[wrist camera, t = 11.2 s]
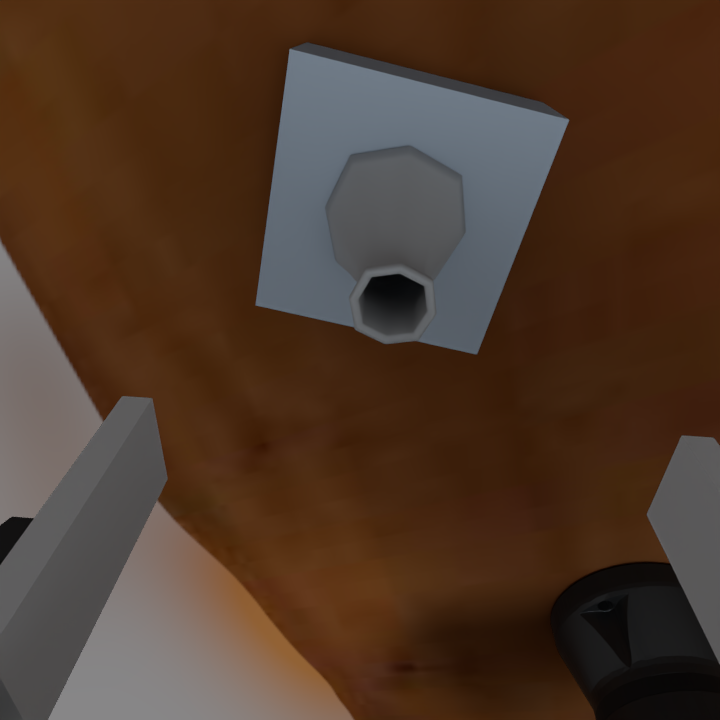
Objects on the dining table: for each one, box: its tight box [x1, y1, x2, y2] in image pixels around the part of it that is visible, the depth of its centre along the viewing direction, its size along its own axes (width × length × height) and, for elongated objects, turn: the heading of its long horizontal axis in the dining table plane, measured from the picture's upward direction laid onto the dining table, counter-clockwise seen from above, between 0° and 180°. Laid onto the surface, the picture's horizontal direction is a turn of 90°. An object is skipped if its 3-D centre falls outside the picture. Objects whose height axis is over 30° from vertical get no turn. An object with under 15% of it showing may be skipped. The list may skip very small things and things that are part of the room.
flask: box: [325, 146, 466, 344], centre depth 24 cm, size 7×7×10 cm
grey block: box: [256, 42, 569, 354], centre depth 31 cm, size 13×13×6 cm
